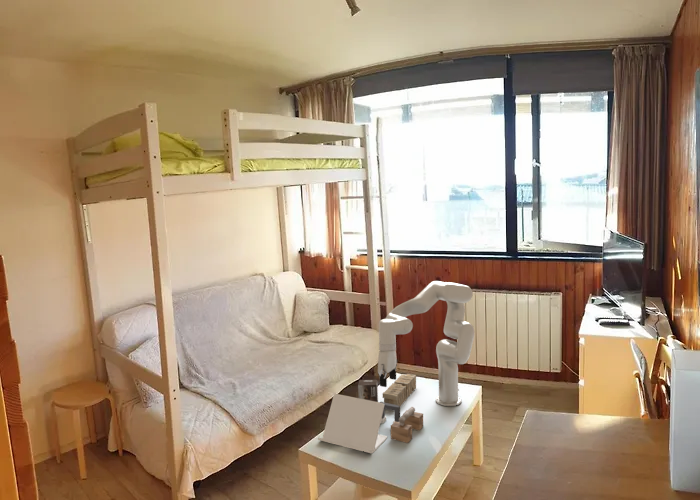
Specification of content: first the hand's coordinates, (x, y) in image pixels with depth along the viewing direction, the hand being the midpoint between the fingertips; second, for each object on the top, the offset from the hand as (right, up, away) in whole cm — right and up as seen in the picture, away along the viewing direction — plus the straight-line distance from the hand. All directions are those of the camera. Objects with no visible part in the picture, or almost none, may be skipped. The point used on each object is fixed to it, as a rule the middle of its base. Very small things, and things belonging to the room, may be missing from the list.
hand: (388, 382), depth 239 cm
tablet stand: (-16, -23, -12) cm, 30 cm away
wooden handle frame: (+8, -20, -7) cm, 23 cm away
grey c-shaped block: (+1, -19, +3) cm, 20 cm away
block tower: (+8, -16, +30) cm, 35 cm away
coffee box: (-8, -19, +13) cm, 24 cm away
